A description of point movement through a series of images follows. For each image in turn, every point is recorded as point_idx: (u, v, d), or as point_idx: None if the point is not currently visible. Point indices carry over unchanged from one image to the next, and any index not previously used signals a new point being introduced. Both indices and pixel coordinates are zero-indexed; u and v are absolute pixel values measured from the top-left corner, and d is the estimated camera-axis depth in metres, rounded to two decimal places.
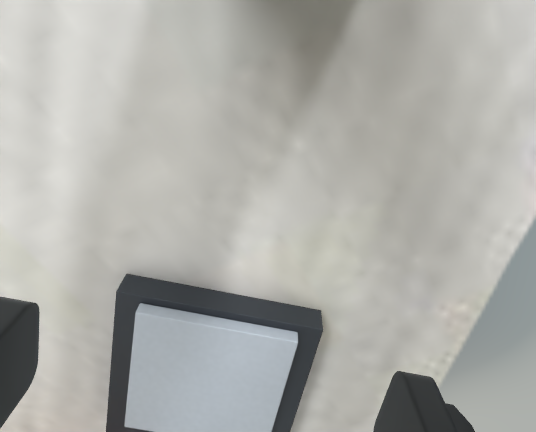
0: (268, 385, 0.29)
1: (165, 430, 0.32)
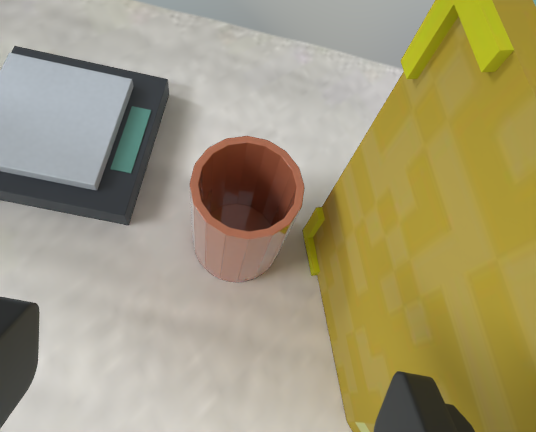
0: (52, 72, 0.37)
1: (101, 151, 0.35)
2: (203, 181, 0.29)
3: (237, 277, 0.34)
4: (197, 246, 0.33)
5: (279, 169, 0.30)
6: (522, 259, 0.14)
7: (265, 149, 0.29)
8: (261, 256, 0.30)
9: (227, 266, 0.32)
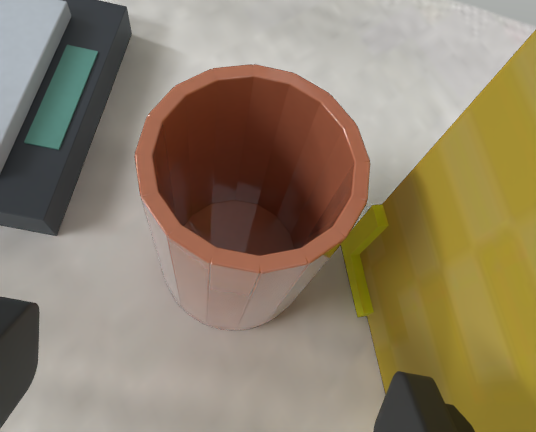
0: None
1: (6, 112, 0.21)
2: (169, 155, 0.15)
3: (236, 325, 0.20)
4: (165, 274, 0.18)
5: (314, 132, 0.16)
6: None
7: (289, 91, 0.15)
8: (281, 297, 0.16)
9: (218, 312, 0.18)
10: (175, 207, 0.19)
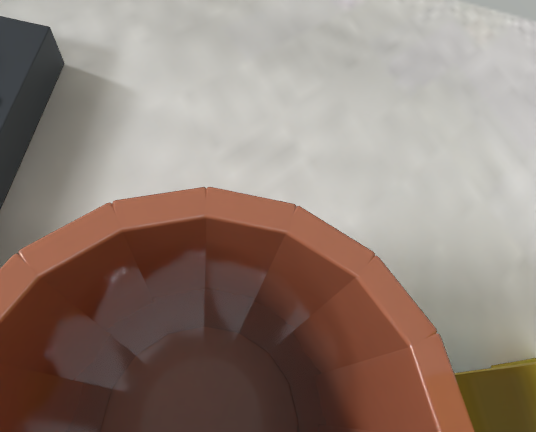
0: None
1: None
2: (37, 363, 0.07)
3: None
4: None
5: (338, 311, 0.08)
6: None
7: (286, 243, 0.07)
8: None
9: None
10: (91, 382, 0.11)
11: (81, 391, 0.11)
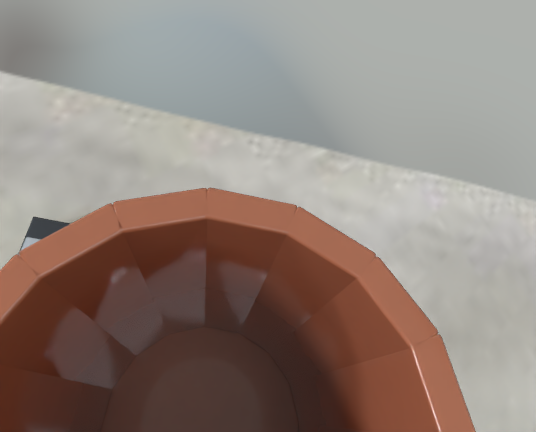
0: None
1: None
2: (37, 364, 0.07)
3: None
4: None
5: (339, 312, 0.08)
6: None
7: (286, 244, 0.07)
8: None
9: None
10: (92, 382, 0.11)
11: (81, 392, 0.11)
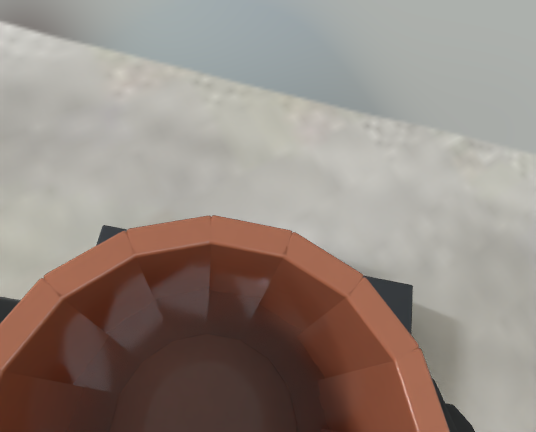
0: None
1: None
2: (56, 374, 0.08)
3: None
4: None
5: (331, 325, 0.08)
6: None
7: (283, 265, 0.07)
8: None
9: None
10: (102, 388, 0.12)
11: (93, 397, 0.11)
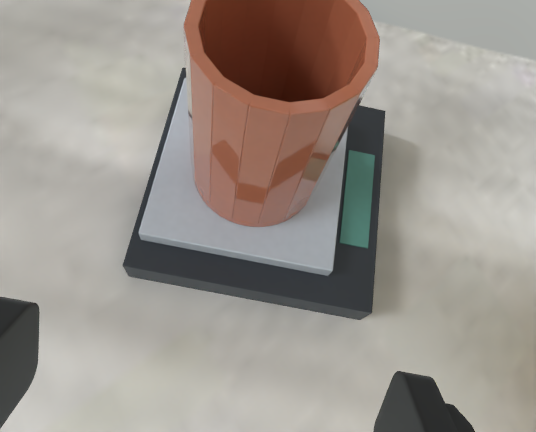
0: None
1: (331, 219, 0.24)
2: (207, 43, 0.18)
3: (259, 216, 0.22)
4: (198, 164, 0.21)
5: (331, 25, 0.18)
6: None
7: None
8: (302, 168, 0.18)
9: (245, 193, 0.20)
10: None
11: None
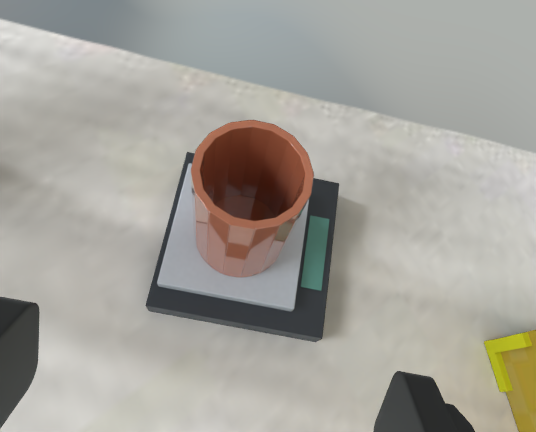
0: None
1: (294, 270, 0.34)
2: (205, 168, 0.28)
3: (241, 272, 0.32)
4: (199, 239, 0.31)
5: (286, 156, 0.28)
6: None
7: (271, 134, 0.27)
8: (267, 249, 0.28)
9: (231, 260, 0.30)
10: None
11: None
